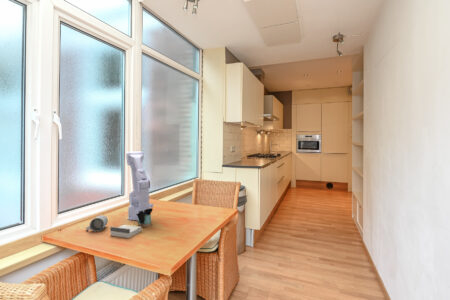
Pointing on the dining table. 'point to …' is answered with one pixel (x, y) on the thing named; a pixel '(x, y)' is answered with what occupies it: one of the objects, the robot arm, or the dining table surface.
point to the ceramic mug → (98, 223)
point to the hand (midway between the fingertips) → (144, 222)
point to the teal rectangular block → (146, 221)
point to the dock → (125, 231)
